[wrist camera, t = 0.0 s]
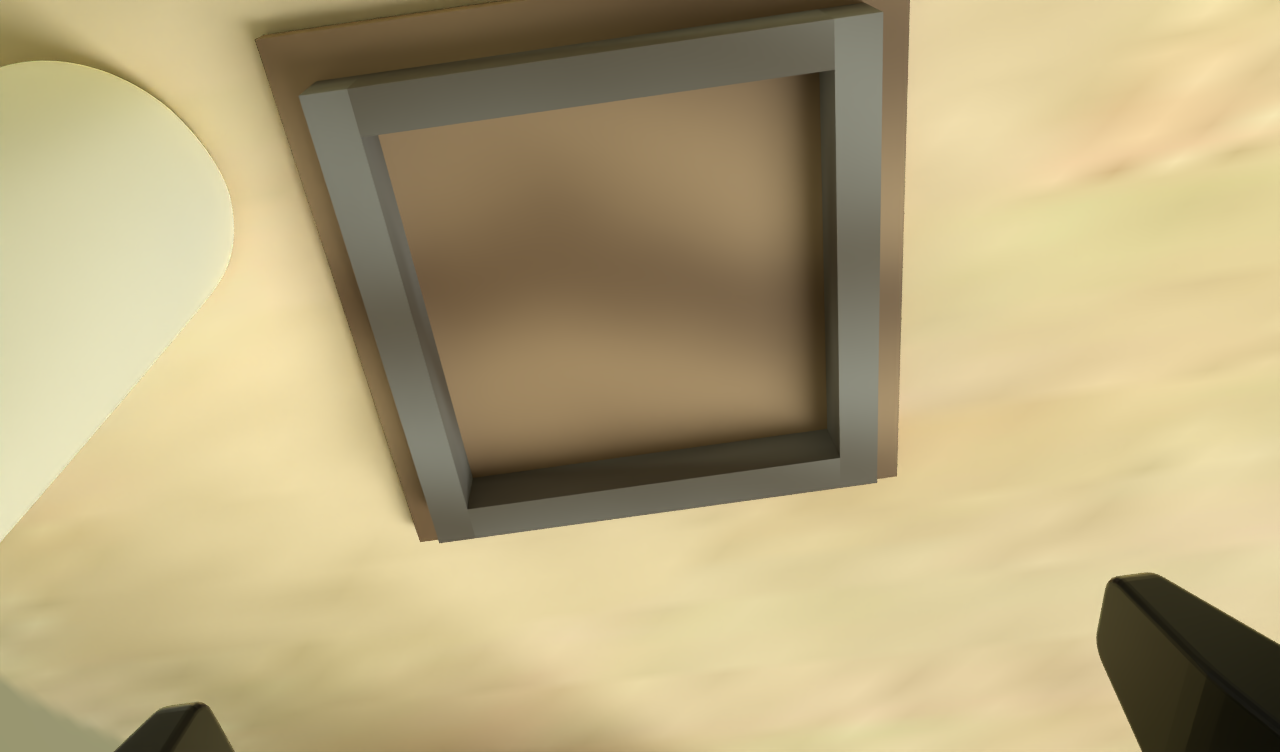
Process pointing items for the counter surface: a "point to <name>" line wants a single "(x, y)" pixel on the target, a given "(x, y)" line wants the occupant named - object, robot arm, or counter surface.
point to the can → (92, 257)
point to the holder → (612, 247)
